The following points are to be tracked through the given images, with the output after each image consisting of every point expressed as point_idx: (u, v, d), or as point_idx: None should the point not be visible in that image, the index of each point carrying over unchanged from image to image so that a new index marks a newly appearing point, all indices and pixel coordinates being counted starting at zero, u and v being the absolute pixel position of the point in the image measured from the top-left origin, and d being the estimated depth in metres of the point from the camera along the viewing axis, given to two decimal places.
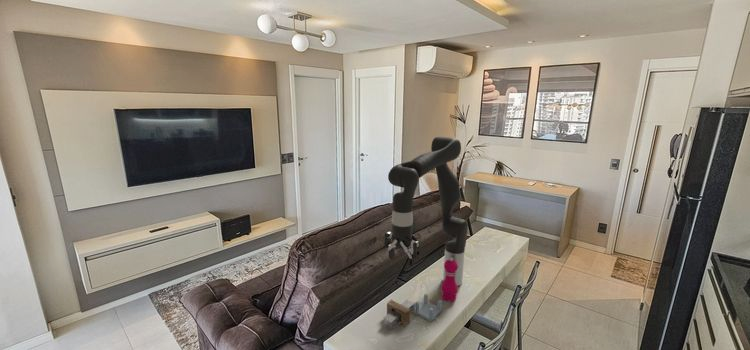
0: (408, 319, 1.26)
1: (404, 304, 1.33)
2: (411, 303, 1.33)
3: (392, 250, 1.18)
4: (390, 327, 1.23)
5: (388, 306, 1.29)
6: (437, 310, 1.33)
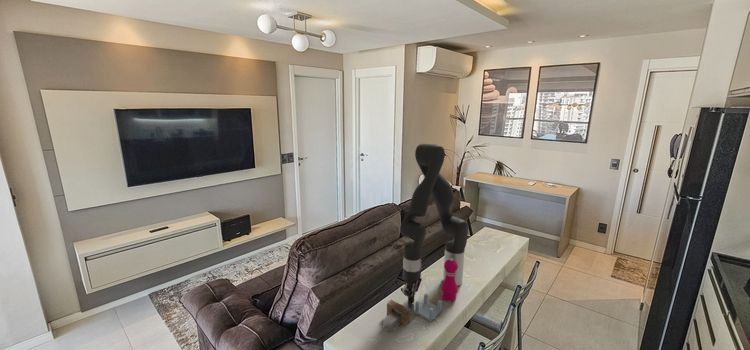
0: (408, 319, 1.26)
1: None
2: (410, 304, 1.32)
3: None
4: (390, 329, 1.22)
5: (388, 306, 1.29)
6: (437, 310, 1.33)
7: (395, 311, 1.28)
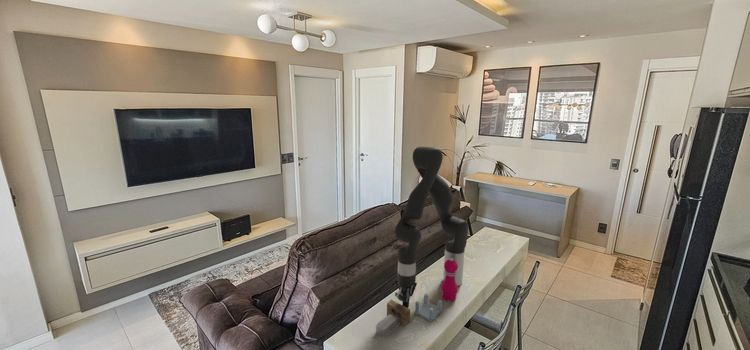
0: (408, 319, 1.26)
1: None
2: None
3: None
4: (383, 335, 1.19)
5: (388, 306, 1.29)
6: (437, 310, 1.33)
7: (389, 316, 1.25)
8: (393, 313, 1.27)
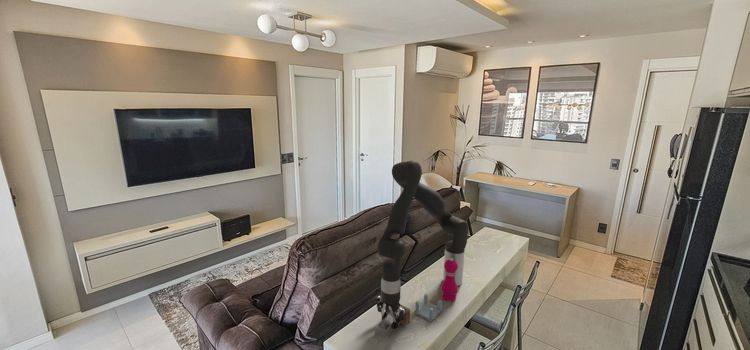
0: (408, 319, 1.26)
1: None
2: None
3: None
4: (384, 335, 1.19)
5: None
6: (437, 310, 1.33)
7: (388, 316, 1.25)
8: None
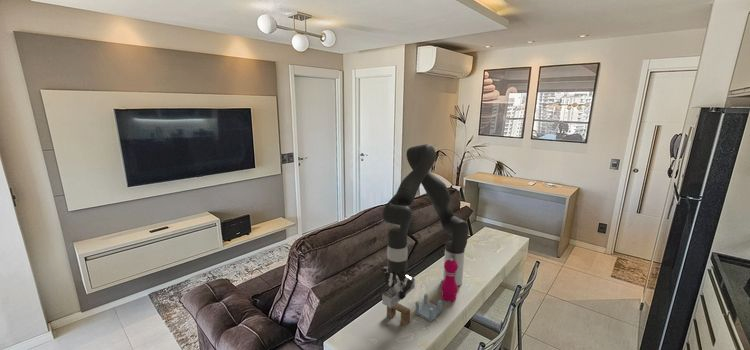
0: (408, 319, 1.26)
1: None
2: None
3: None
4: (390, 304, 1.15)
5: None
6: (437, 310, 1.33)
7: (395, 286, 1.21)
8: None
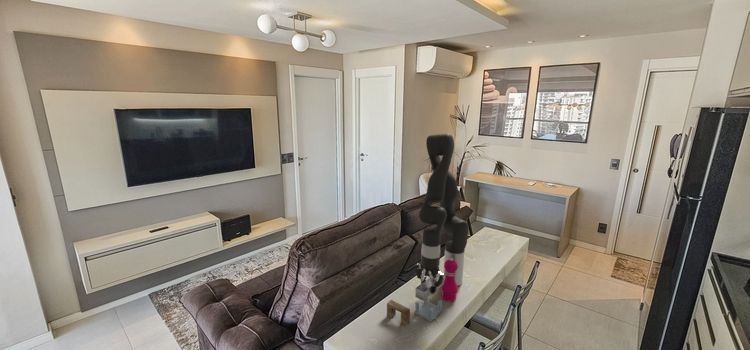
0: (408, 319, 1.26)
1: None
2: None
3: None
4: (422, 297, 1.25)
5: (388, 306, 1.29)
6: (437, 310, 1.33)
7: (426, 281, 1.32)
8: None
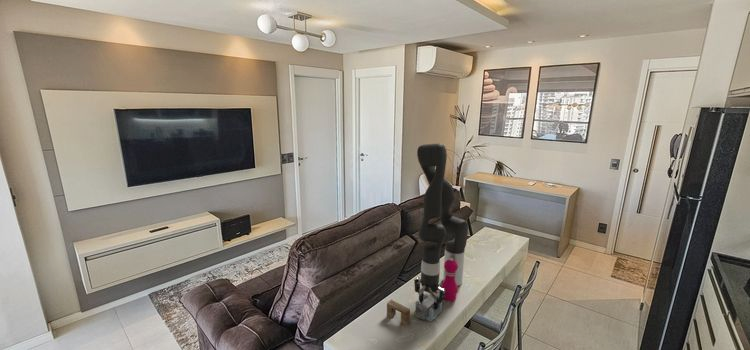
0: (408, 319, 1.26)
1: None
2: None
3: None
4: (423, 316, 1.27)
5: (388, 306, 1.29)
6: (437, 310, 1.33)
7: (426, 300, 1.33)
8: (430, 297, 1.35)
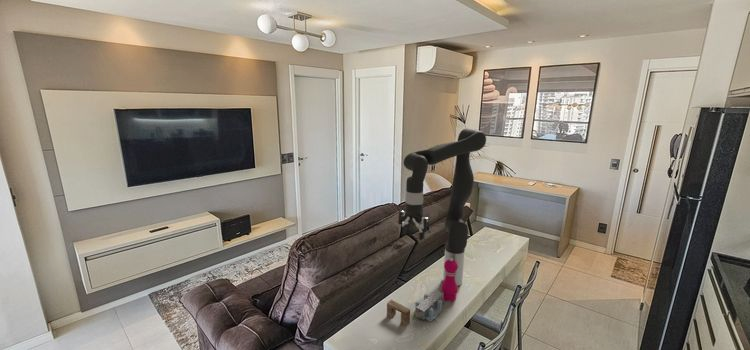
0: (408, 319, 1.26)
1: (433, 295, 1.37)
2: (440, 294, 1.38)
3: None
4: (423, 316, 1.27)
5: (388, 306, 1.29)
6: (437, 310, 1.33)
7: (426, 300, 1.33)
8: (430, 297, 1.35)
